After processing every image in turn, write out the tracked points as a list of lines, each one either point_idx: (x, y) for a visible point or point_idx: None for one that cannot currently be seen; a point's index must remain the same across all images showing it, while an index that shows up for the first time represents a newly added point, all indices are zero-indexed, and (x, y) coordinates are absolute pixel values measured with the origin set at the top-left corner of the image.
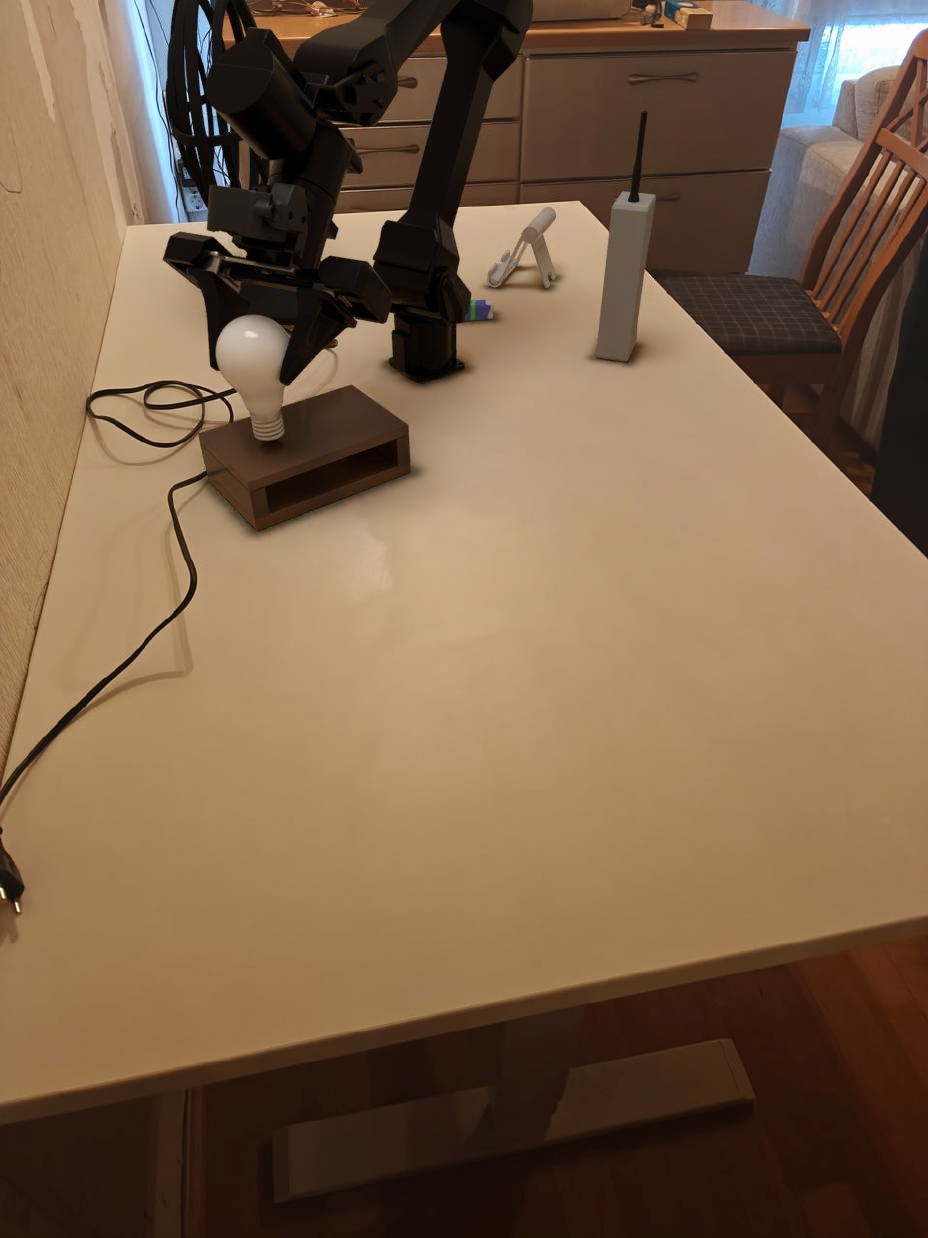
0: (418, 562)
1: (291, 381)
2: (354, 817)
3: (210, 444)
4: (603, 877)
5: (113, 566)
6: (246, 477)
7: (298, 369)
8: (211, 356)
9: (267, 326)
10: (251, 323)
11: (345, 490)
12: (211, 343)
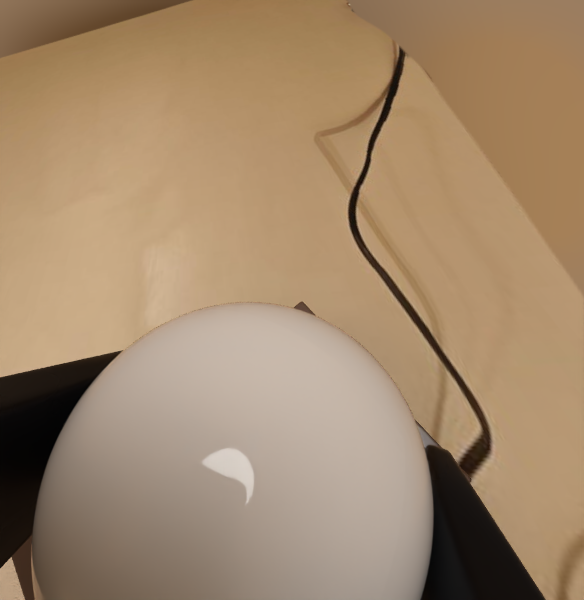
0: (112, 292)
1: None
2: (180, 68)
3: (418, 425)
4: (59, 66)
5: (467, 247)
6: (307, 312)
7: None
8: (454, 474)
9: (78, 437)
10: (160, 418)
11: None
12: (482, 527)
